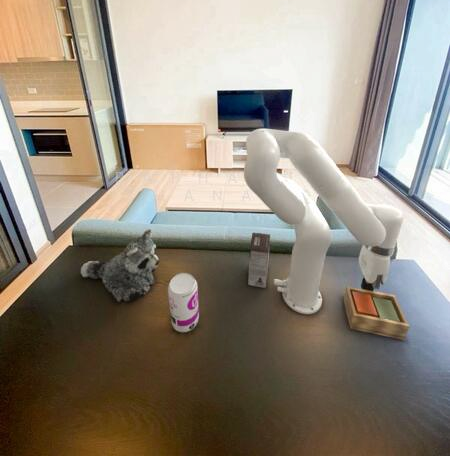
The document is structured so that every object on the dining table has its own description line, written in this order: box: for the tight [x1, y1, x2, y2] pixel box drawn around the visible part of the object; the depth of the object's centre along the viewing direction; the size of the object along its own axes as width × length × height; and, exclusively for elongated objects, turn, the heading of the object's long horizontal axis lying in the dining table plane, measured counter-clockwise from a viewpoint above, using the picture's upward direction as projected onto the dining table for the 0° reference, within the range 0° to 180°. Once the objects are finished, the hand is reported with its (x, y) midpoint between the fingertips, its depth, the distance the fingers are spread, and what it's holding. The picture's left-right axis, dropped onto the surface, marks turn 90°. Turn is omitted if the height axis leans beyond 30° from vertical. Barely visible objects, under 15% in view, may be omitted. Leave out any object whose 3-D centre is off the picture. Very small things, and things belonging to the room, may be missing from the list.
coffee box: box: [247, 232, 271, 289], centre depth 86 cm, size 9×6×16 cm
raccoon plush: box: [80, 228, 160, 303], centre depth 82 cm, size 15×32×21 cm, turn 89°
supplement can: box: [167, 272, 200, 333], centre depth 71 cm, size 8×8×15 cm
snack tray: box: [342, 286, 410, 341], centre depth 74 cm, size 14×10×6 cm
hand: (366, 289), depth 80 cm, fingers closed
